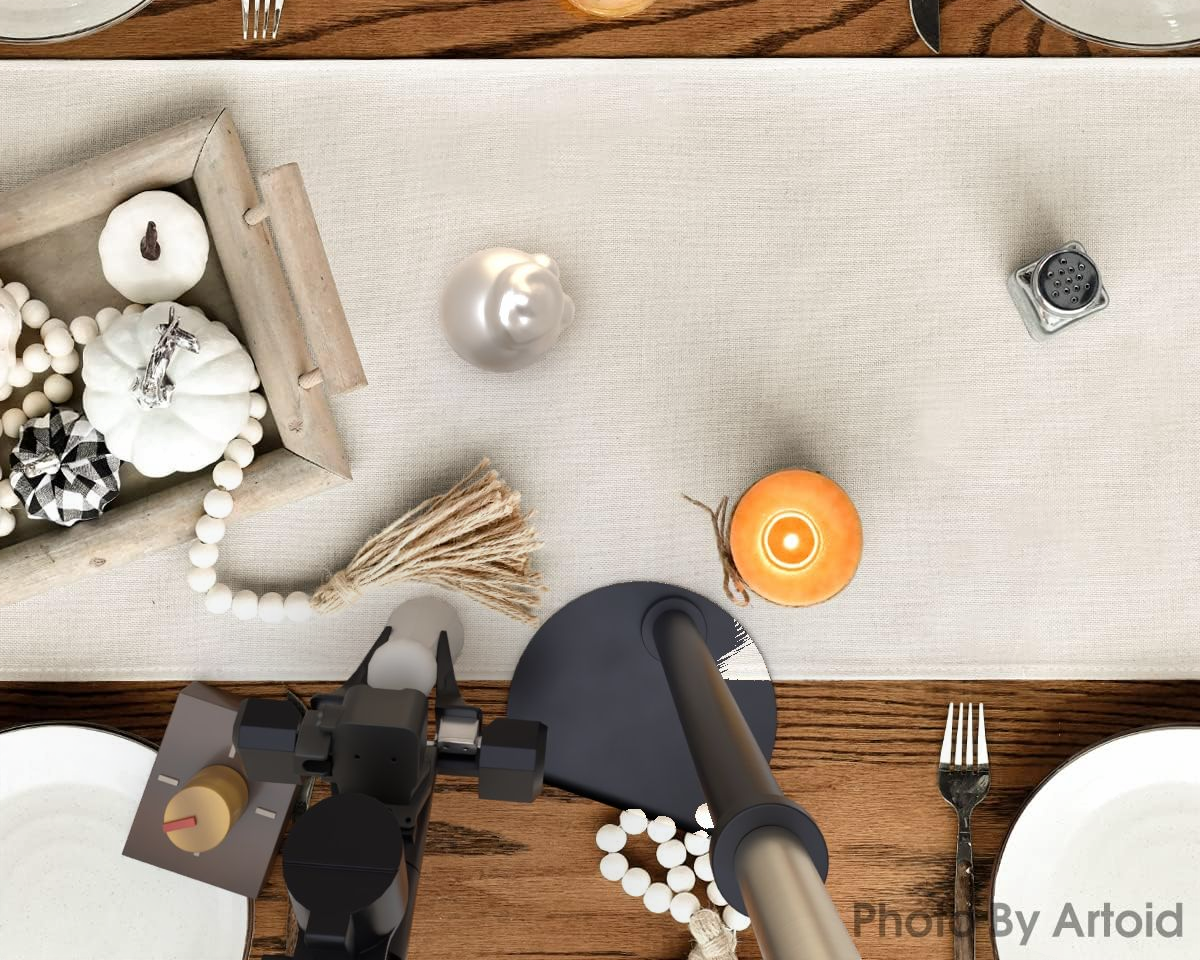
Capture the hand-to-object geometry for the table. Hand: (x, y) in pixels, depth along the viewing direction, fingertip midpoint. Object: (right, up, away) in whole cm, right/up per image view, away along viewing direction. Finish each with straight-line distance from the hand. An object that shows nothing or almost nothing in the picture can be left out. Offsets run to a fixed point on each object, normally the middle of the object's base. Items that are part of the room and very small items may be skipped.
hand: (417, 631), depth 71 cm
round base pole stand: (+15, -8, +7) cm, 19 cm away
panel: (-15, -12, +6) cm, 20 cm away
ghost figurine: (+6, +22, +8) cm, 24 cm away
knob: (-15, -12, +3) cm, 19 cm away
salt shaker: (0, -2, +7) cm, 7 cm away
